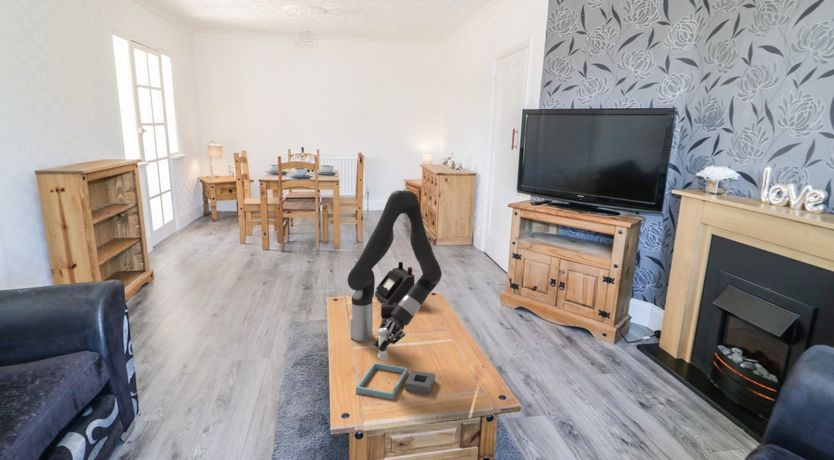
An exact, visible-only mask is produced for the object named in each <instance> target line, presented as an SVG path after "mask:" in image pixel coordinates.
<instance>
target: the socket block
mask: <svg viewBox="0 0 834 460" xmlns="http://www.w3.org/2000/svg"><path fill="white" fill-rule="evenodd" d="M435 382H436V373H431V372H425V371H419V370H413V369H412V370H411V372H410V374H409V375H408V377H407V378H406V381H405V383H404V391H406V392H411V393H416V394H417V393H418V394H422V395H427V396H428V395H430V393H431V390H432V388H433V387H434V385H435Z"/></svg>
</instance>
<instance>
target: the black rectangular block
mask: <svg viewBox="0 0 834 460" xmlns="http://www.w3.org/2000/svg"><path fill="white" fill-rule="evenodd" d="M398 304H399V303H393V305H388V304H387V303H382V302H381V305H380V318H382V319H383V318H385V319H389V318H391V317H392V314H391V313H392V312H393V310H394V309H395V308H396V306H397V305H398Z"/></svg>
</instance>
